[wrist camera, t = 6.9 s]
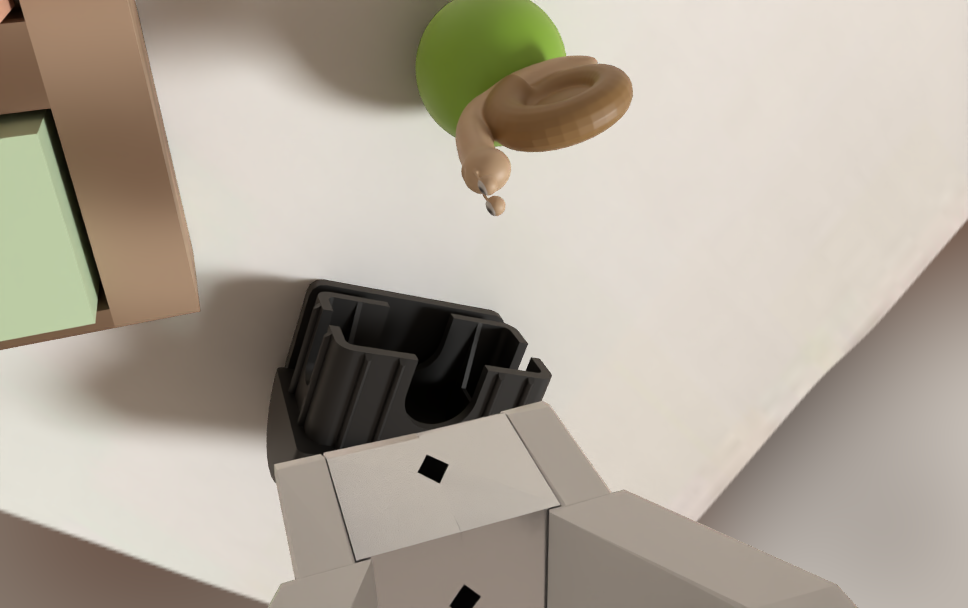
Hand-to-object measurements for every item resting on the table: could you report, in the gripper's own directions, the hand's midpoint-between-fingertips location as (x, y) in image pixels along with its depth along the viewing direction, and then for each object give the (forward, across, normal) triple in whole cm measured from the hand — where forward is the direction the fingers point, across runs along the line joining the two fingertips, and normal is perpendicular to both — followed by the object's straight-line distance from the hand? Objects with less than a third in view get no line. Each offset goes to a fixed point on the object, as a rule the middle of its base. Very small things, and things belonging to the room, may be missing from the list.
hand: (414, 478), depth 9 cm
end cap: (+25, -4, +15) cm, 29 cm away
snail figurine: (+25, -8, +2) cm, 26 cm away
